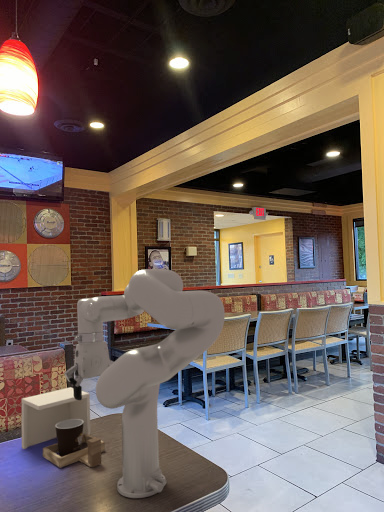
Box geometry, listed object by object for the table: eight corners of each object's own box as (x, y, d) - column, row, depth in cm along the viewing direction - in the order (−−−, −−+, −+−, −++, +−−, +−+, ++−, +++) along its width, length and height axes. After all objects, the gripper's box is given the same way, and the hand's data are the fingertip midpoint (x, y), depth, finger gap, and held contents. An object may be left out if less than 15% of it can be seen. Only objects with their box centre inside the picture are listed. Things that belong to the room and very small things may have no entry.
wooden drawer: (118, 457, 115) (118, 433, 115) (73, 476, 104) (72, 449, 104) (86, 441, 128) (85, 419, 129) (42, 456, 118) (42, 432, 118)
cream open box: (90, 441, 129) (89, 393, 131) (39, 459, 116) (38, 406, 118) (71, 431, 139) (70, 387, 140) (21, 447, 126) (21, 398, 127)
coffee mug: (66, 465, 112) (65, 430, 113) (50, 458, 117) (49, 425, 118) (97, 450, 121) (96, 419, 122) (81, 445, 126) (80, 414, 127)
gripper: (70, 342, 106) (72, 404, 104) (121, 335, 118) (123, 390, 116) (58, 341, 111) (60, 400, 109) (108, 334, 123) (110, 387, 121)
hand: (92, 395), depth 112 cm, fingers open, 9 cm apart
